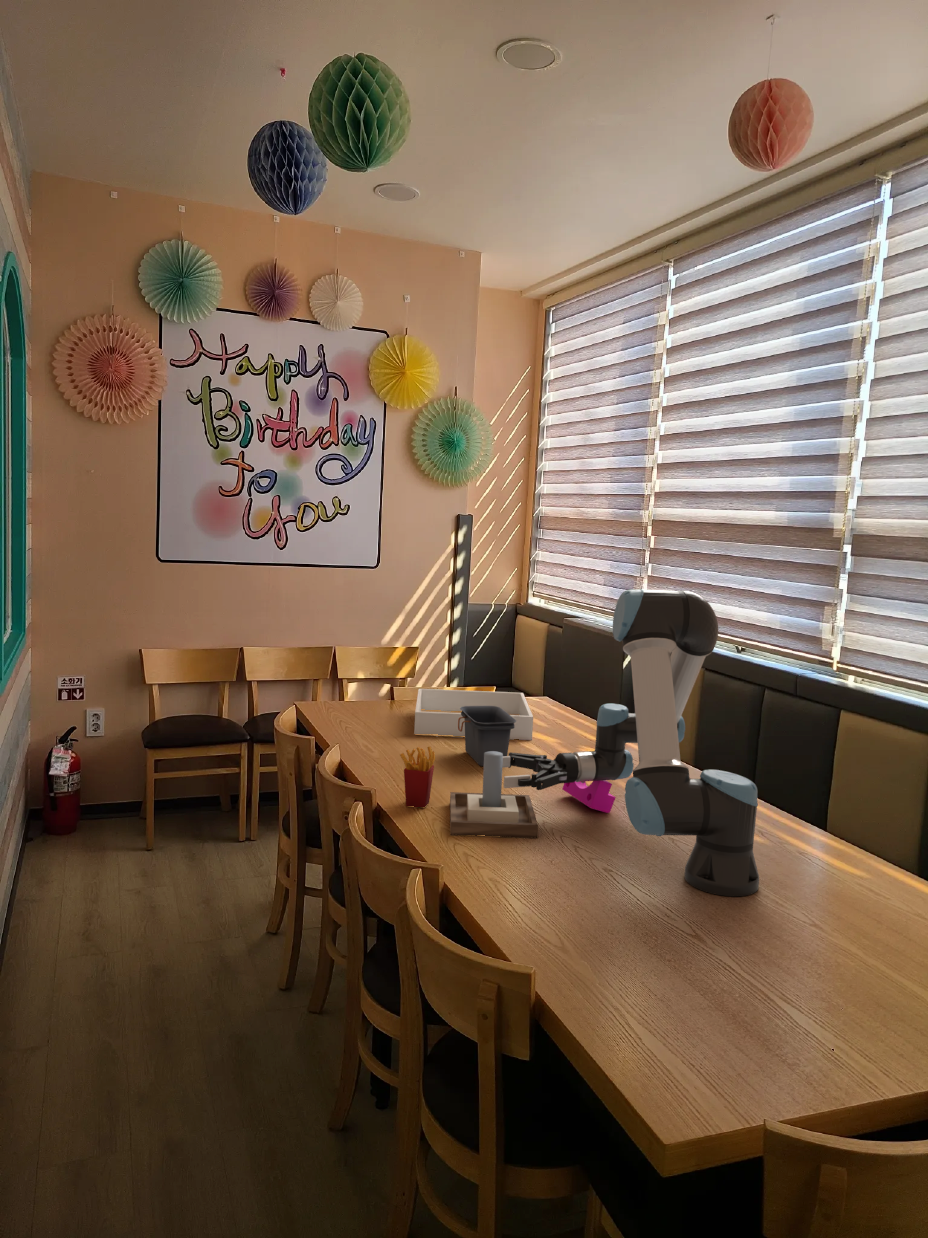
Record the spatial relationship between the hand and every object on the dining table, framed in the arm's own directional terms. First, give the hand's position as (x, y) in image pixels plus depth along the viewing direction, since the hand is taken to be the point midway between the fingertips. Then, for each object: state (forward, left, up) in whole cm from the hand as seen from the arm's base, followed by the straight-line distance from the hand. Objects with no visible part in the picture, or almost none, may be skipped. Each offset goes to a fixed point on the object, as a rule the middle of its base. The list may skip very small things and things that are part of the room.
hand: (494, 772), depth 222 cm
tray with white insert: (0, 0, -12) cm, 12 cm away
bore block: (0, 0, -12) cm, 12 cm away
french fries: (+11, +19, -12) cm, 25 cm away
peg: (0, 0, -11) cm, 11 cm away
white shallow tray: (+100, +2, -12) cm, 100 cm away
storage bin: (+55, 0, -12) cm, 56 cm away
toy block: (+15, -25, -11) cm, 31 cm away
